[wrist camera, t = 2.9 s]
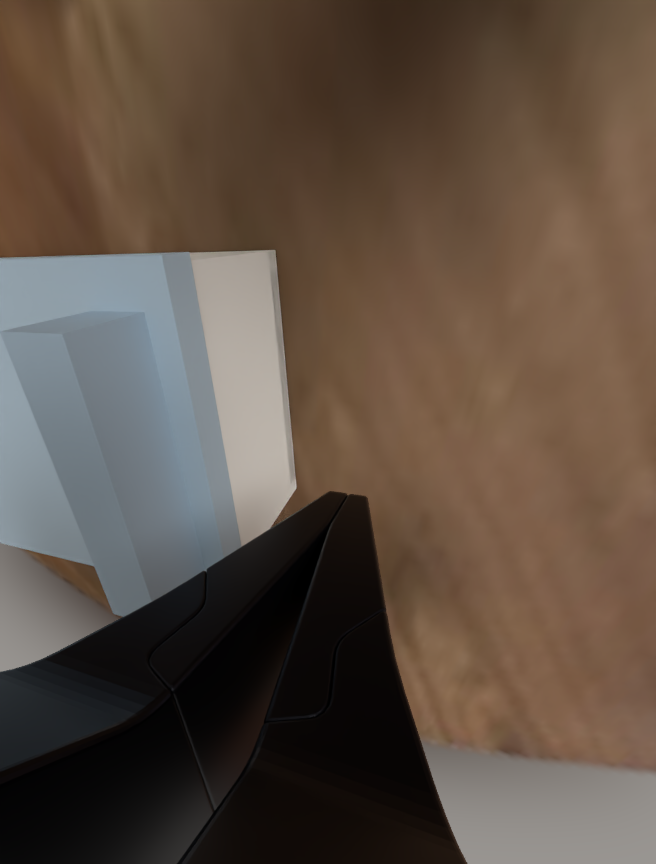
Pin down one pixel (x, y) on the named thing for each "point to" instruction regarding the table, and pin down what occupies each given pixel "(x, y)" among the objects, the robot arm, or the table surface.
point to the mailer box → (248, 380)
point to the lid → (111, 421)
